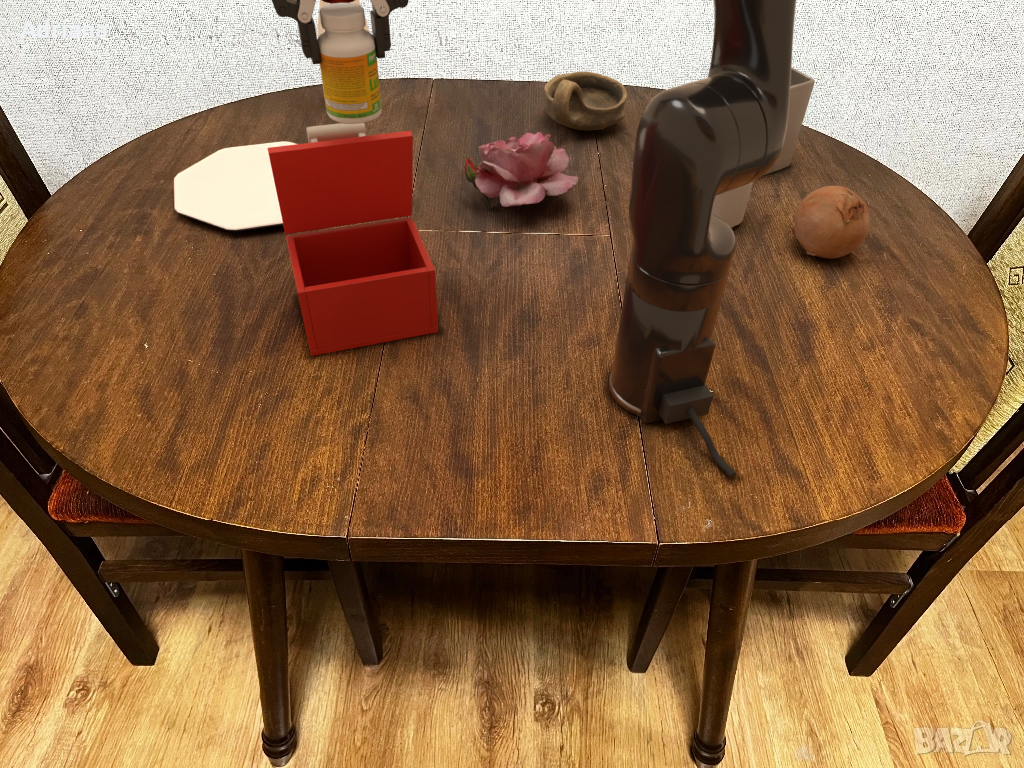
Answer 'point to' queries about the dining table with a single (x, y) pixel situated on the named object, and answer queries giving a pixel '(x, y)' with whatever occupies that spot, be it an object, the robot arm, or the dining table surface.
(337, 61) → the supplement bottle
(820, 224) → the onion
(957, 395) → the dining table surface
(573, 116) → the bowl
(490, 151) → the flower
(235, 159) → the plate
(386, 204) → the red box lid
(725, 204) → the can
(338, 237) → the red box
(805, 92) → the planter
